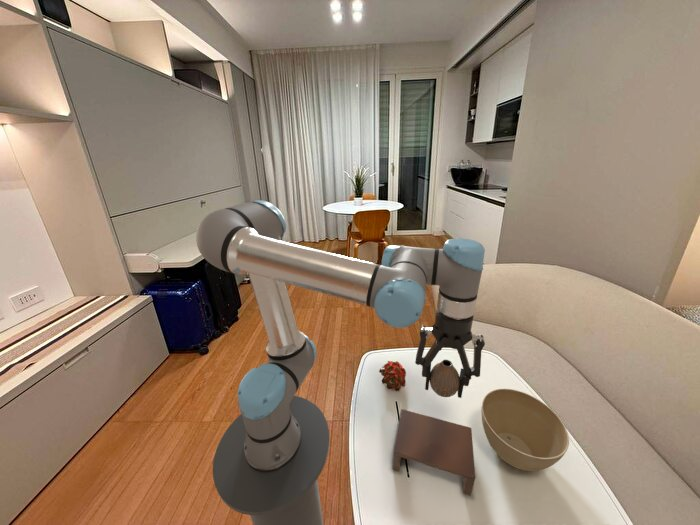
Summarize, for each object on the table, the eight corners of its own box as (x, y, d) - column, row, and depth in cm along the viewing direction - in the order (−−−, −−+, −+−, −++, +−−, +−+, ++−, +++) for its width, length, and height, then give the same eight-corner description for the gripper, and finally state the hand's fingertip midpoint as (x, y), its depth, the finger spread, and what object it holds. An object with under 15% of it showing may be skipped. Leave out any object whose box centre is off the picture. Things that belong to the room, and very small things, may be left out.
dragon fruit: (394, 402, 86) (388, 378, 97) (416, 388, 85) (407, 365, 96) (378, 385, 84) (374, 362, 96) (400, 370, 83) (393, 349, 94)
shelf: (392, 469, 66) (393, 451, 64) (400, 425, 77) (401, 408, 74) (470, 496, 61) (475, 477, 58) (467, 445, 71) (471, 427, 68)
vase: (422, 390, 66) (426, 362, 63) (437, 375, 70) (441, 348, 67) (448, 407, 61) (453, 379, 58) (462, 390, 66) (468, 363, 62)
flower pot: (460, 432, 74) (466, 401, 70) (508, 410, 80) (516, 380, 75) (518, 506, 59) (531, 472, 54) (572, 472, 65) (588, 439, 60)
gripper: (503, 308, 57) (484, 387, 66) (409, 295, 63) (404, 369, 72) (510, 329, 51) (489, 413, 60) (405, 312, 57) (400, 391, 65)
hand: (442, 389), depth 66 cm, fingers closed on vase, 7 cm apart
